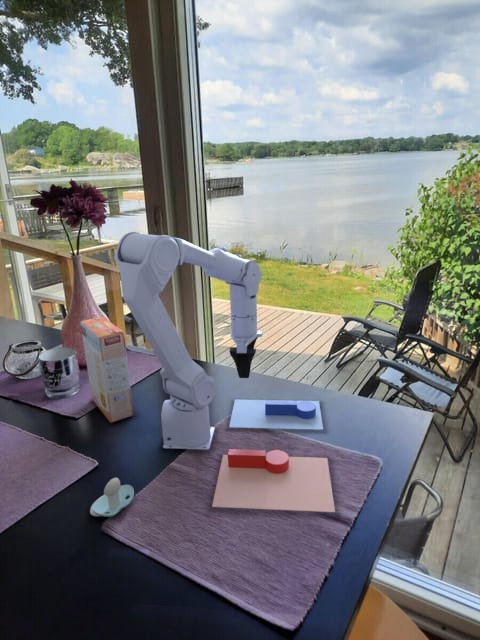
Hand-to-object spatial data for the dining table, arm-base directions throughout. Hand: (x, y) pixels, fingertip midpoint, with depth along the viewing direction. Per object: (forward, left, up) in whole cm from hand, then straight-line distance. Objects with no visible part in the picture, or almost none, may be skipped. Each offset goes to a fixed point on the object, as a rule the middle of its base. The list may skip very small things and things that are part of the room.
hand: (245, 369), depth 101 cm
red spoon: (+4, -23, -9) cm, 24 cm away
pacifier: (-20, -34, -10) cm, 41 cm away
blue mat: (+7, -4, -9) cm, 12 cm away
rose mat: (+7, -27, -9) cm, 29 cm away
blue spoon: (+10, -4, -9) cm, 14 cm away
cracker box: (-32, -2, -10) cm, 33 cm away
